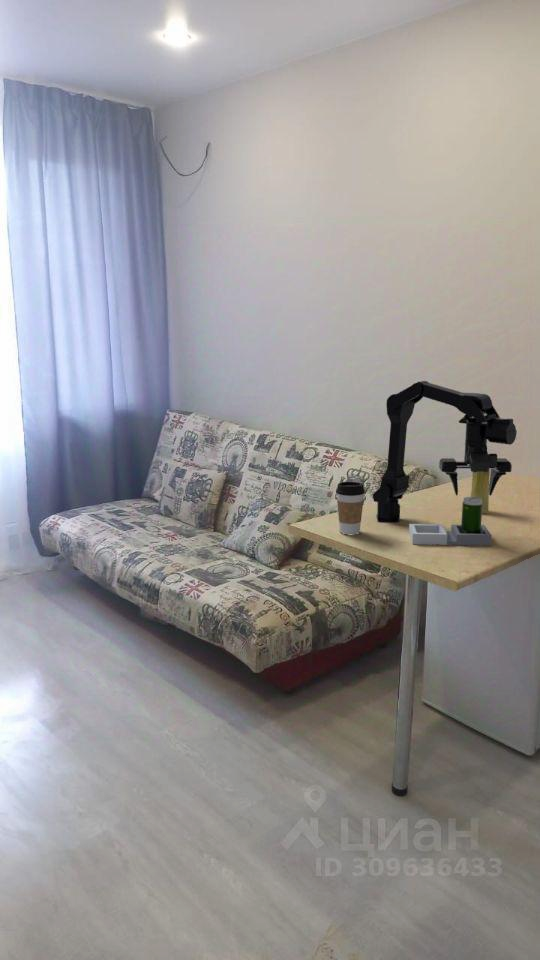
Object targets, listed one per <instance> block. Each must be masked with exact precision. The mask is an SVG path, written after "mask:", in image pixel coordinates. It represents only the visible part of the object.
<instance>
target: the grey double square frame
mask: <svg viewBox="0 0 540 960" xmlns="http://www.w3.org/2000/svg"><path fill="white" fill-rule="evenodd" d="M408 526H409V529H408V534H409V538H410V540H411V543H412V545H432V544H434V545H435V544H439V545H440V546H442V545H443V546H447V545H448V546H492V534H491V532H490V531H489V529H488V528H487V527H486V525H485V524H481V534H467V533H461V524H451V525H450V530H446V529H445V527H444V525H443V524H441V523H440V524H436V523H434V524H433V523H430V524H429V523H409V525H408ZM434 545H433V546H434ZM435 546H436V545H435Z"/></svg>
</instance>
